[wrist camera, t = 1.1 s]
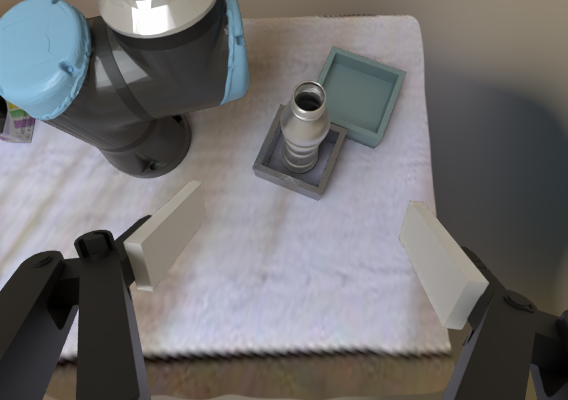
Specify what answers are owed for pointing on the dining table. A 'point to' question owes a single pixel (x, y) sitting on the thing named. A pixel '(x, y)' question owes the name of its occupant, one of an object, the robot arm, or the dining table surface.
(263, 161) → the holder sleeve
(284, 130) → the metal bottle
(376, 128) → the tray
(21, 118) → the purple product box
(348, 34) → the dining table surface
